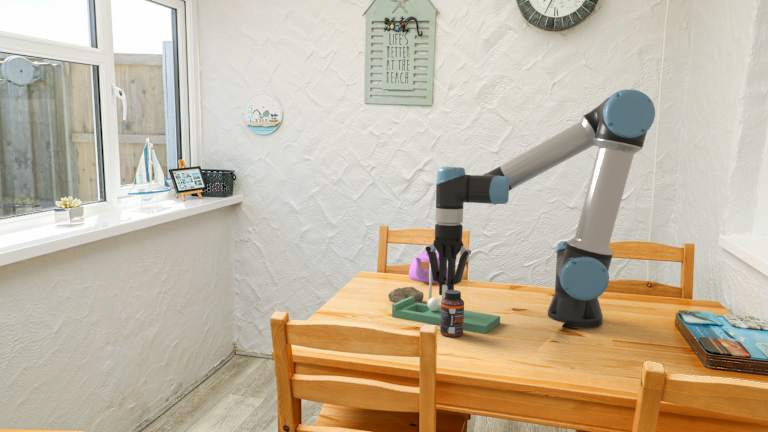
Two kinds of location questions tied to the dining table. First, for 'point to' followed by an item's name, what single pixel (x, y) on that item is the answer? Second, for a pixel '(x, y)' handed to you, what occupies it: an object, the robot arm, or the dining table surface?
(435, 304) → the ball
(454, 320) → the supplement bottle
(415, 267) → the teapot
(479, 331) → the green
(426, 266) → the pin
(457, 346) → the dining table surface
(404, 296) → the rock
